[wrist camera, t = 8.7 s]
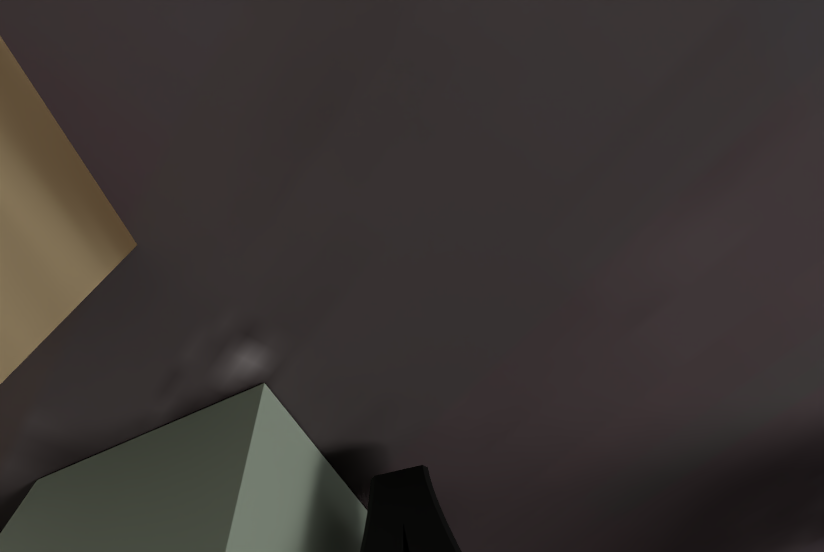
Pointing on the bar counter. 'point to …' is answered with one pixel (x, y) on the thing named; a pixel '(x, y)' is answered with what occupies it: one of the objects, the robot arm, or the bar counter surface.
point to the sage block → (197, 491)
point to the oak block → (45, 221)
